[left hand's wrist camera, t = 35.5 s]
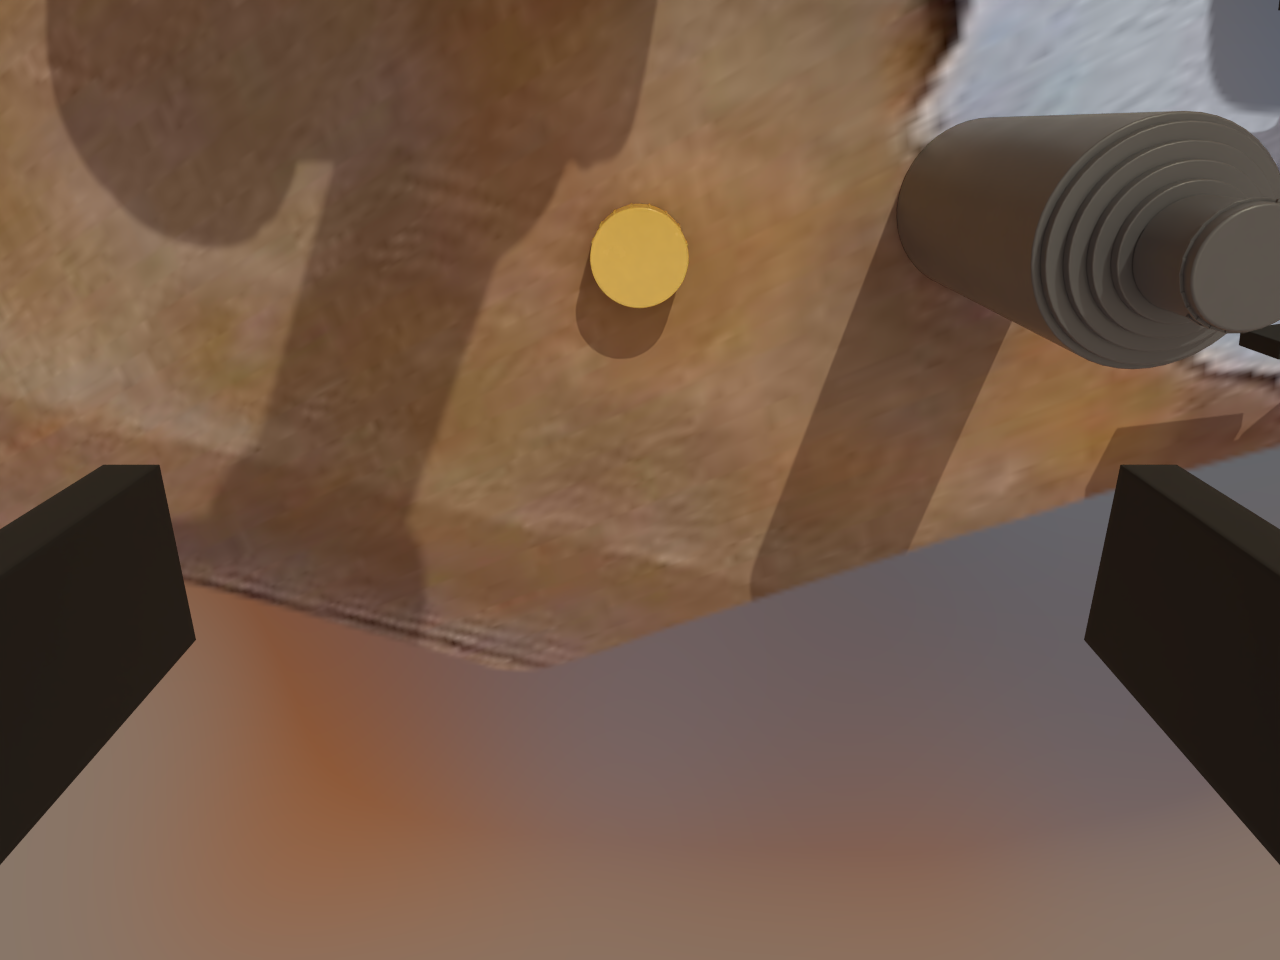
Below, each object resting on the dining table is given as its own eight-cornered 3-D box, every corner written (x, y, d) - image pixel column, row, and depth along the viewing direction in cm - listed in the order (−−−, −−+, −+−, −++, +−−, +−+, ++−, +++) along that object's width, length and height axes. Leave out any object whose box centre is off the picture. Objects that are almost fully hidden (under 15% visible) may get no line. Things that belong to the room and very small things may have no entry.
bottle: (1022, 306, 45) (1313, 441, 25) (873, 266, 44) (1056, 373, 25) (1090, 143, 42) (1475, 155, 23) (932, 97, 41) (1190, 69, 22)
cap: (625, 182, 43) (624, 185, 40) (706, 237, 44) (709, 243, 41) (573, 266, 44) (570, 273, 42) (653, 317, 45) (654, 327, 43)
